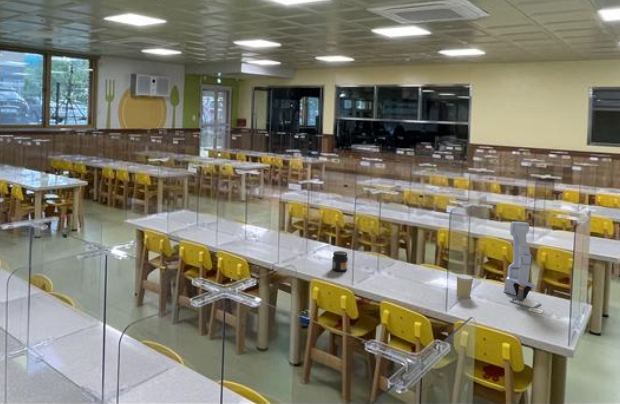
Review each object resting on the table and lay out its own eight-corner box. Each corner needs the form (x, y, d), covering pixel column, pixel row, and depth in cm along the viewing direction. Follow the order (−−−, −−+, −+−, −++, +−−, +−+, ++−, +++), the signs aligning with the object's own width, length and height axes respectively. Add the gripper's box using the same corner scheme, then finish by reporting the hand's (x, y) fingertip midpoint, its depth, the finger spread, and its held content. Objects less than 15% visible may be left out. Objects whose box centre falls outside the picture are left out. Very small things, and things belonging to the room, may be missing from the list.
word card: (528, 310, 295) (528, 309, 295) (530, 307, 299) (530, 307, 299) (541, 313, 291) (541, 313, 291) (543, 311, 295) (543, 310, 295)
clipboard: (509, 301, 308) (510, 299, 307) (517, 297, 315) (517, 295, 314) (533, 308, 298) (533, 306, 298) (540, 304, 305) (541, 302, 305)
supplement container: (350, 271, 353) (351, 254, 351) (337, 273, 348) (338, 255, 346) (341, 266, 362) (342, 250, 360) (328, 268, 357) (329, 251, 355)
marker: (515, 299, 308) (517, 286, 306) (518, 297, 310) (520, 285, 309) (522, 301, 305) (524, 288, 303) (525, 299, 308) (527, 287, 306)
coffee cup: (468, 293, 319) (470, 274, 317) (473, 298, 310) (475, 279, 308) (453, 292, 319) (454, 274, 317) (457, 298, 310) (459, 279, 308)
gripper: (508, 273, 307) (506, 295, 310) (533, 279, 297) (530, 302, 300) (514, 270, 312) (511, 292, 315) (538, 277, 302) (535, 299, 304)
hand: (521, 297), depth 307 cm, fingers closed on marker, 4 cm apart
